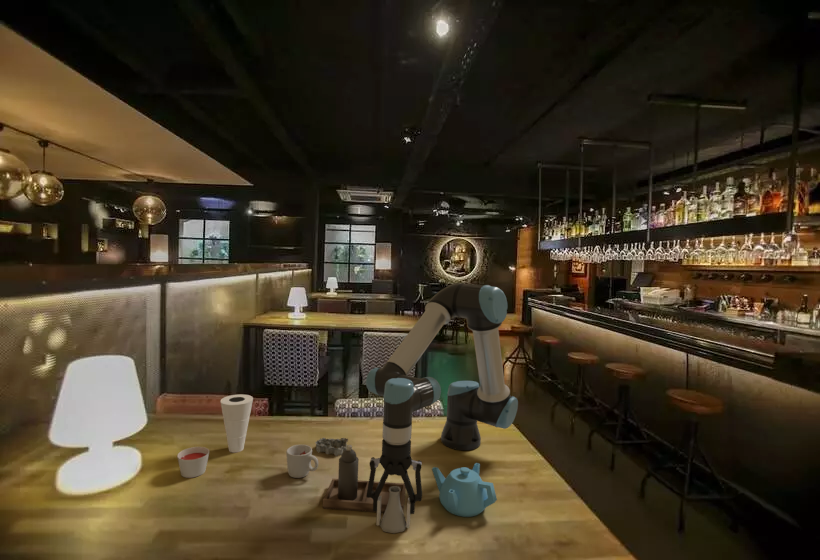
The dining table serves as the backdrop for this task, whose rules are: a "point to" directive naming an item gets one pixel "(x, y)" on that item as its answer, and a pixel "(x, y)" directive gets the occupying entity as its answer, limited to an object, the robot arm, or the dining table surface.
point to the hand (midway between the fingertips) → (393, 523)
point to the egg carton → (331, 445)
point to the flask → (393, 513)
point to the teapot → (464, 491)
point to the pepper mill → (348, 475)
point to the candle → (193, 461)
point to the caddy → (361, 497)
